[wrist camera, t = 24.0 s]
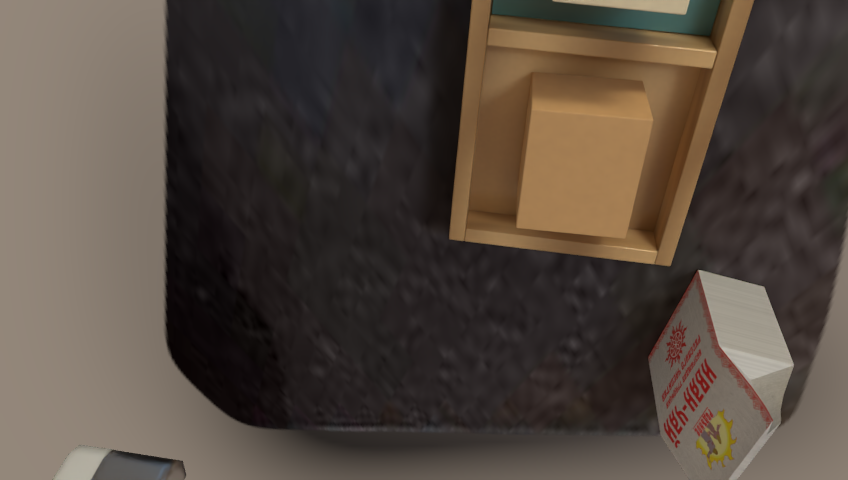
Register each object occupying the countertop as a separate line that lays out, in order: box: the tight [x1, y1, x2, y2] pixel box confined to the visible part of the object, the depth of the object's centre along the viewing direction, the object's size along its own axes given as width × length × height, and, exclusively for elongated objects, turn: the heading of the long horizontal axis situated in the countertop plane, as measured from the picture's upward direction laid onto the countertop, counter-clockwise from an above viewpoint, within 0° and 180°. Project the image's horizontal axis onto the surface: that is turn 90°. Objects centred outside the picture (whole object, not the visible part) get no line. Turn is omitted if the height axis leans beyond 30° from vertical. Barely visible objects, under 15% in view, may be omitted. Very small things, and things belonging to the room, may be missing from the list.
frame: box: [449, 0, 754, 266], centre depth 33 cm, size 11×21×2 cm, turn 177°
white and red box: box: [648, 270, 794, 480], centre depth 38 cm, size 4×7×10 cm, turn 167°
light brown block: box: [516, 72, 653, 239], centre depth 35 cm, size 5×6×4 cm
